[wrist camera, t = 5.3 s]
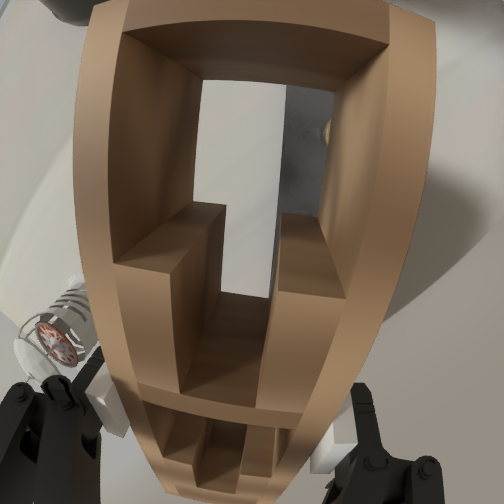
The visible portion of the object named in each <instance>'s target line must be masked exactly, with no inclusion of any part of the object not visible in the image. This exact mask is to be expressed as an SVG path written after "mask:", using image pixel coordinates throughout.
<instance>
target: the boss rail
mask: <svg viewBox="0 0 504 504" xmlns="http://www.w3.org/2000/svg"><path fill="white" fill-rule="evenodd" d="M333 99H334V92H329V91H323V90H318V89H312V88H305V87H299V86H291V85H287V87H286V102H285V117H284V132H283V145H282V158H281V171H280V183H279V195H278V206H277V218H276V229H275V239H274V250H273V260H272V270H271V280H270V288H271V281H272V275H273V268H274V262H275V255H276V248H277V241H278V234H279V227H280V220H281V213H282V212H285V213H292V214H299V215H306V216H313V217H317V212H318V207H319V201H320V195H321V188H322V182H323V176H324V169H325V162H326V155H327V148H328V141H329V133H330V125H331V117H332V108H333ZM269 294H270V289H269Z"/></svg>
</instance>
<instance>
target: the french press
mask: <svg viewBox="0 0 504 504" xmlns="http://www.w3.org/2000/svg"><path fill="white" fill-rule="evenodd" d="M69 300H70V302H68V301H69ZM64 305H67V306H69V307H68V308H67V309H66V308H62V307H63V306H64ZM39 315H41V316H40V321H39V322H37V323H36V324H35V328H33V329H32V330H31V331H30V332H29V333H28V334H27V336H26V338H25V339H24V338H20V333H21V331H22V329H23V327H24V326H25V325H26V324H27V323H28V322H29V321H30V320H32V319H33V318H35V317H37V316H39ZM54 315H56V316H57V317H58V318H57V319H56V320H55V321H49V320H50V319H51V318H52V317H53V316H54ZM48 321H49V322H48ZM50 323H53V324H50ZM70 328H72V330H73V331H74V332H75V334H76V335H77V336H78V337H79V339H80V340H81V341H78V340H77V339H76V338H75V337H74V336H73V335H72V333H71V331H70ZM34 330H35V332H36V336H37V338H38V340H39V342H40V344H41V346H43V348H44V350H46V352H48V353H47V355H46V354H44V352H42V351H41V350H40V349H39V348H38V347H37V346H36V345H34V344H33V343H31V342H30V341H29V340H28V339H27V338H28V336H29V335H30V334H31V333H32V332H33V331H34ZM66 333H67V334H68V335H69V337H70V338H71V339H72V340H73V341H74V342H75V343H76V344H78V345H82V346H84V348H78V347H74V346H73V345H72V343H71V342H70V341H69V340H68V338H67V337H66V336H65V334H66ZM98 340H99V339H98V335H97V332H96V328H95V324H94V321H93V317H92V313H91V308H90V304H89V300H88V295H87V290H86V285H85V280H84V275H83V273H76V274H75V275H74V276H72V277H71V278H70V280H69V284H68V290H67V291H66V292H65V293H64V294H63V295H62V296H61V297H59V298H58V299H57V300H56V302H54V303H53V304H52V305H51V306H50V307H49V308H48V309H47V310H46V311H45V312H43V313H38V314H37V315H35V316H33V317H32V318H30V319H29V320H28V321H27V322H26V323H25V324H24V325H23V326H22V327H21V329H20V331H19V334H18V338H17V339H15V340H14V350H15V354H16V356H17V359H18V361H19V363H20V365H21V367H22V368H23V369H24V371H25V372H26V374H27V375H28V376H29V377H28V379H27V380H26V381H25V383H27V382H28V380H29V379H31V380H33V381H34V382H36V383H37V384H39V385H40V386H41V384H42V382H43V381H44V380H45V379H46V378H47V377H49V376H52V375H61V373H60V372H59V371H58V369H57V367H56V366H55V365H54V363H53V362H52V361H51V360H50V359H49V358H48V355H49V356H51V357H53V359H55V361H57V362H59V363H60V364H62V365H64V366H67V367H71V368H72V367H76V366H77V364H78V362H80V361H83V360H84V359H85V358H86V357H87V355H88V354H89V353H90V351H91V350H92V348H93V346H95V344H96V343H97V341H98ZM76 351H78V352H80V351H85V353H81V354H78V355H77V352H76Z"/></svg>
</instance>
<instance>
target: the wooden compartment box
mask: <svg viewBox="0 0 504 504" xmlns="http://www.w3.org/2000/svg"><path fill="white" fill-rule="evenodd" d="M203 80H234V81H252V82H264V83H274V84H283V85H291V86H299V87H305V88H312V89H318V90H323V91H329V92H334V99H333V108H332V117H331V125H330V133H329V141H328V148H327V155H326V162H325V169H324V176H323V182H322V188H321V195H320V201H319V207H318V212H317V217H313V216H306V215H299V214H292V213H285V212H282V213H281V220H280V227H279V234H278V241H277V248H276V255H275V262H274V268H273V275H272V281H271V288H270V294H269V298H262V297H255V296H248V295H241V294H235V293H228V292H222V291H221V276H222V260H223V245H224V231H225V217H226V205H223V204H214V203H205V202H196V201H193V190H194V173H195V158H196V144H197V132H198V121H199V111H200V102H201V92H202V84H203ZM435 97H436V32H435V22H434V21H432V20H429V19H427V18H425V17H422V16H420V15H418V14H415V13H413V12H410V11H408V10H405V9H402V8H400V7H397V6H394V5H391V4H388V3H385V2H382V1H379V0H110V1H107V2H103V3H100V4H97V5H94V7H93V11H92V14H91V18H90V22H89V26H88V30H87V34H86V38H85V43H84V48H83V53H82V58H81V64H80V70H79V77H78V85H77V93H76V102H75V114H74V131H73V187H74V204H75V216H76V226H77V235H78V243H79V250H80V257H81V263H82V269H83V275H84V280H85V285H86V290H87V295H88V300H89V304H90V308H91V313H92V317H93V321H94V324H95V328H96V332H97V335H98V339H99V342H100V346H101V349H102V352H103V356H104V359H105V362H106V365H107V368H108V371H109V374H110V376H111V379H112V382H114V384H115V387H116V389H117V392H118V395H119V397H120V400H121V402H122V405H123V407H124V410H125V412H126V414H127V417H128V419H129V421H130V426H131V428H132V430H133V432H134V434H135V436H136V439H137V441H138V443H139V445H140V447H141V449H142V451H143V453H144V455H145V457H146V458H147V460H148V462H149V464H150V466H151V468H152V469H153V471H154V473H155V475H156V476H157V478H158V480H159V482H160V483H161V485H162V487H163V488H164V490H165V491H166V493H170V494H173V495H177V496H180V497H184V498H188V499H193V500H197V501H201V502H207V503H212V504H273V503H274V502H275V501H276V500H277V499H278V497H279V496H280V495H281V494H282V493H283V491H284V490H285V489H286V488H287V486H288V485H289V484H290V483H291V481H292V480H293V479H294V477H295V476H296V475H297V473H298V472H299V471H300V469H301V468H302V466H303V465H304V464H305V462H306V461H307V460H308V458H309V457H310V455H311V454H312V452H313V451H314V449H315V448H316V446H317V445H318V443H319V442H320V440H321V439H322V437H323V436H324V434H325V433H326V431H327V429H328V428H329V426H330V424H331V423H332V421H333V420H334V418H335V416H336V414H337V413H338V411H339V409H340V408H341V406H342V404H343V402H344V401H345V399H346V397H347V395H348V393H349V391H350V390H351V388H352V386H353V384H354V382H355V380H356V378H357V376H358V374H359V372H360V370H361V368H362V366H363V364H364V362H365V360H366V358H367V356H368V354H369V351H370V349H371V347H372V345H373V343H374V340H375V338H376V336H377V333H378V331H379V329H380V327H381V324H382V322H383V319H384V317H385V314H386V312H387V309H388V307H389V304H390V302H391V299H392V296H393V293H394V291H395V288H396V285H397V282H398V279H399V276H400V273H401V270H402V267H403V264H404V261H405V258H406V255H407V251H408V248H409V245H410V241H411V238H412V234H413V230H414V226H415V223H416V219H417V215H418V210H419V206H420V202H421V197H422V193H423V188H424V183H425V178H426V172H427V166H428V160H429V154H430V147H431V140H432V132H433V122H434V111H435Z"/></svg>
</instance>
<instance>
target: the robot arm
mask: <svg viewBox="0 0 504 504" xmlns="http://www.w3.org/2000/svg"><path fill="white" fill-rule="evenodd" d="M39 1H40V2H42V3H43V4H44V5H45V6H46V7H47V8H48V9H50V10H51V11H52V13H53V15H54V16H55V17H56V18H57V19H59V20H60V21H62V22H65V23H69V24H72V25H76V26H86V25H89V22H90V18H91V14H92V11H93V7H94V5H97V4H100V3H103V2H107V1H110V0H39ZM40 387H41V388H42V390H43V392H44V393H45V394H44V393H38V392H35V391H34V390H33V388H32V387H31V386H30V385H29V384H28V383H25V382H20V383H16V384H14V385H13V386H12V387H11V388H10V389H9V391H8V392H7V394H6V396H5V397H4V399H3V401H2V402H1V404H0V504H33V501H34V504H101V502H100V457H101V434H100V432H99V431H100V429H101V427H102V425H103V426H104V428H105V429H106V430H107V432H109V433H112V434H114V435H117V436H119V437H122V438H124V436H125V434H126V432H127V429H128V427H129V425H130V421H129V419H128V417H127V414H126V412H125V410H124V407H123V405H122V402H121V400H120V397H119V395H118V392H117V389H116V387H115V384H114V382H112V379H111V376H110V374H109V371H108V368H107V365H106V362H105V359H104V356H103V352H102V349H101V346H99V347H97V349H96V350H95V351H94V353H93V354H92V357H90V358H89V360H88V361H87V364H85V365H84V366H83V368H82V369H81V371H80V372H79V373H78V375H77V376H76V378H75V379H74V380H73V382H72V383H71V382H70V380H69V379H68V378H67V377H66V376H63V375H52V376H49V377H47V378H46V379H45V380H44V381H43V382H42V384H41V386H40ZM334 469H335V478H334V479H333V480H332V481H330V482H329V483H328V484H327V486H326V487H325V488H326V489H328V488H329V489H328V491H327V493H326V496H325V498H324V500H323V502H322V504H445V500H444V487H443V477H442V469H441V466H440V463H439V462H438V461H437V459H435V458H434V457H432V456H422V457H419V458H418V459H417V460H416V461H409V460H403V459H398V458H394V457H392V456H391V455H390V454H389V453H388V452H387V451H386V450H385V449H384V448H383V446H382V443H381V438H380V433H379V428H378V423H377V418H376V414H375V408H374V405H373V399H372V395H371V392H370V390H369V389H368V387H367V386H366V385H365V383H354V384H353V386H352V388H351V390H350V391H349V393H348V395H347V397H346V399H345V401H344V402H343V404H342V406H341V408H340V409H339V411H338V413H337V414H336V416H335V418H334V420H333V421H332V423H331V424H330V426H329V428H328V429H327V431H326V433H325V434H324V436H323V437H322V439H321V440H320V442H319V443H318V445H317V446H316V448H315V449H314V451H313V452H312V454H311V455H310V474H330V473H331V472H332V471H333V470H334Z"/></svg>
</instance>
